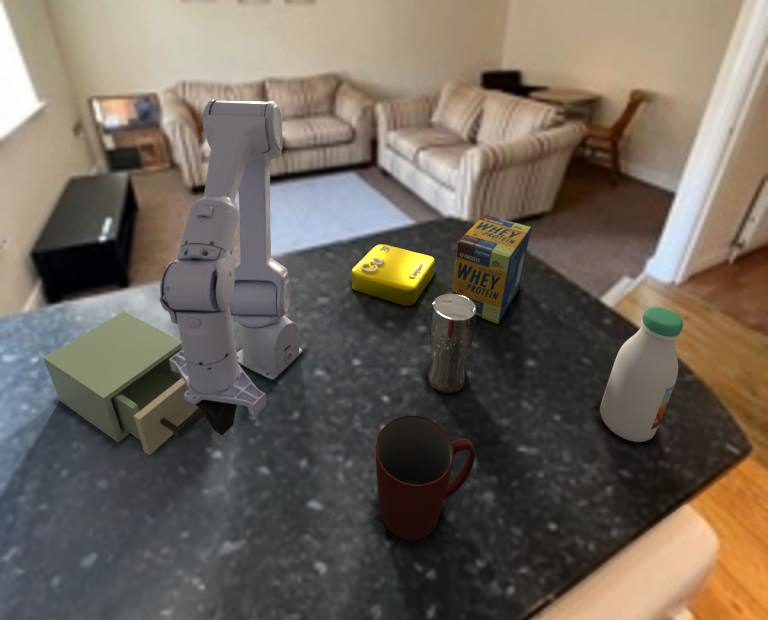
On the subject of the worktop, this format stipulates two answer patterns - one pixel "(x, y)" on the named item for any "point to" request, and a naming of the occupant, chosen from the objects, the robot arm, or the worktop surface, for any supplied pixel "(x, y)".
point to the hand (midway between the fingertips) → (224, 427)
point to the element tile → (393, 274)
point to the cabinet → (107, 367)
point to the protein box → (491, 265)
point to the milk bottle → (643, 377)
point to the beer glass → (450, 340)
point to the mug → (416, 474)
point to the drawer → (156, 407)
